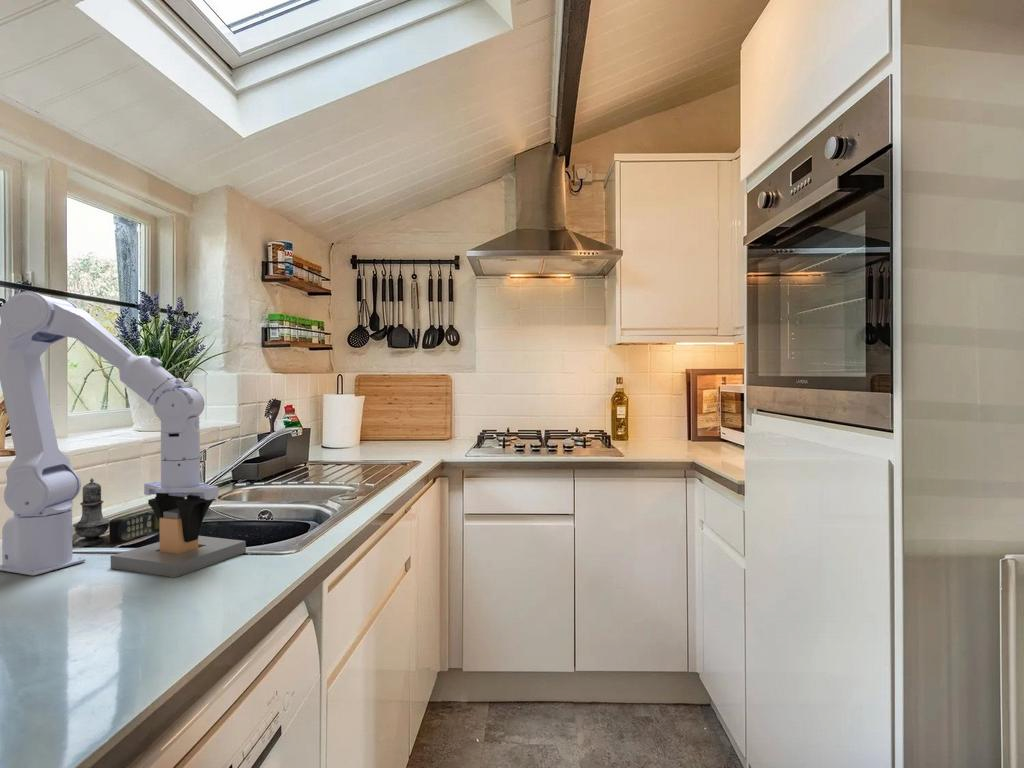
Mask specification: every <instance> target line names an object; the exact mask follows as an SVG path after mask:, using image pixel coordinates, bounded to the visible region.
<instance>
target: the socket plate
mask: <svg viewBox="0 0 1024 768" xmlns="http://www.w3.org/2000/svg"><path fill="white" fill-rule="evenodd" d="M246 543H247V542H246V540H241V539H233V538H232V539H230V538H222V537H212V536H205V535H204V536H203V535H199V536H198V548H197V549H193V550H190V551H187V552H184V553H181V554H174V553H166V552H160V541H157V542H154V543H151V544H147V545H143V546H140V547H136V548H132V549H129V550H126V551H123V552H118V553H115V554H112V555H110V569H113V570H122V571H128V572H134V573H141V572H142V574H147V573H149V575H154V574H155V575H156V576H161V575H162V576H163V577H168V578H178V577H181V576H183V575H186V574H189V573H192V572H195V571H198V570H200V569H203V568H206V567H208V566H211V565H215V564H216V563H219V562H222V561H225V560H228V559H231V558H234V557H236V556H240V555H243V554H245V553H246V552H247V547H246V546H247V545H246ZM162 576H161V577H162Z"/></svg>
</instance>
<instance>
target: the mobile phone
mask: <svg viewBox="0 0 1024 768" xmlns="http://www.w3.org/2000/svg"><path fill="white" fill-rule="evenodd" d="M110 520H111V521H110V523H109V527H108V529H109V532H108V533H109V542H110V543H112V544H119V543H122V542H127V541H130V540H134V539H138V538H142V537H146V536H150V535H153V534H157V533H160V524H159V521H158V518H157V516H156V514H155V513H154V511H153V509H152V508H151V507H150V508H148V509H145V510H144V509H143V510H140V511H137V512H132V513H128V514H124V515H121V516H118V517H115V518H113V519H110Z"/></svg>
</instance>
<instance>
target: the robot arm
mask: <svg viewBox="0 0 1024 768" xmlns="http://www.w3.org/2000/svg"><path fill="white" fill-rule="evenodd" d="M65 338H72V339H76V340H78V341H79V342H80V343H82V344H83V345H85V346H86V347H88V348H89V349H90V350H92V351H93V352H94V353H96V354H97V355H98V356H100V357H101V358H102V359H104V360H105V361H107V362H108V363H109V364H111V365H112V366H113V367H115V368H117V369H118V372H119V373H118V375H119V381H120V382H122V383H123V384H124V385H125V386H126V387H128V388H129V389H131V390H132V391H133V392H134V393H135V394H137V395H138V396H139V397H140V398H142V399H143V400H144V401H145V402H147V404H149V405H151V406H152V408H153V411H154V414H155V415H156V417H157V418H158V419H159V420H160V481H150V482H146V483H144V485H143V486H144V488H143V490H144V492H143V493H144V495H145V496H146V495H147V496H150V495H155V497H154V498H151V499H150V498H149V499H148V502H147V503H148V505H149V507H150V509H151V508H152V509H153V511H154V513H155V514H156V516H157V518H158V521H159V524H160V518H162V517H163V512H164V511H169V510H173V509H177V508H178V509H179V512H180V515H181V520H182V528H183V537H184V541H185V542H190V541H194V540H197V539H198V536H200V531H201V528H202V524H203V522H204V518H205V516H206V513H207V511H208V510H209V508H210V506H211V504H213V502H214V500H213V499H218V498H219V486H218V485H211V484H209V483H208V484H207V483H203V482H201V462H200V461H201V453H200V449H201V446H200V445H201V442H200V441H201V440H200V439H201V438H200V437H201V436H200V433H201V430H200V416H201V414H202V413H203V411H204V409H205V399H204V396H203V394H202V393H200V392H199V390H198V388H195V387H192V386H184V384H185V381H184V379H182V378H181V377H178V378H177V377H176V376H174V375H172V374H171V373H170V372H169V371H168V370H166V369H165V368H164V367H163V366H162V364H163V361H162V360H160V359H159V357H150V356H149V355H135V354H134V353H133V352H132V351H131V350H130V349H129V348H128V347H127V346H126V345H124V344H123V343H121V341H119V339H117V338H116V337H115V336H114V335H113V334H112V333H111V332H110V331H108V329H106V328H105V327H104V326H103V325H102V324H100V322H99V321H97V320H96V319H95V318H94V317H93V316H92V315H91V314H90V313H89V312H87V310H84V309H82V308H79V307H78V306H77V304H75V303H74V302H72V301H71V300H68V299H64V298H57V297H53V296H52V297H51V296H47V295H43V294H40V293H39V292H34V291H32V290H31V291H29V290H27V291H26V290H25V291H20V292H17V293H15V294H14V295H12V296H11V297H10V298H9V299H8V300H7V301H6V302H5V303H3V304H2V305H1V306H0V387H1V392H2V396H3V401H4V402H3V403H4V405H5V406H4V407H5V410H6V417H7V420H8V421H7V422H8V426H9V429H10V435H11V440H12V443H13V448H14V454H15V457H14V459H13V461H11V463H10V464H9V466H8V468H7V469H6V471H5V473H6V474H5V475H6V485H5V488H4V493H3V500H4V503H5V505H6V506H7V508H8V509H9V510H10V511H12V512H13V514H12V515H10V516H9V517H8V518H7V519H6V521H5V522H4V523H3V526H2V530H1V531H2V532H1V545H2V546H1V553H2V554H1V555H2V556H1V557H2V558H1V564H0V571H2V572H3V571H4V572H9V573H16V574H21V575H27V576H38V575H41V574H44V573H49V572H51V571H55V570H58V569H62V568H65V567H69V566H73V565H76V564H80V563H83V562H86V558H85V557H79V556H73V500H74V499H76V498H77V496H78V495H79V493H80V491H81V489H82V488H81V487H82V482H81V478H80V476H79V474H77V472H76V471H75V470H74V469H73V467H72V464H71V459H70V458H69V457H68V456H67V455H66V454H64V452H62V451H61V450H60V449H59V445H58V439H57V436H56V430H55V426H54V421H53V415H52V411H51V407H50V401H49V400H50V399H49V396H48V391H47V387H46V382H45V381H46V380H45V377H44V372H43V369H42V362H41V356H42V355H43V354H44V353H45V352H46V351H47V350H48V349H49V348H51V346H52V345H54V344H56V343H58V342H59V341H61V340H64V339H65Z"/></svg>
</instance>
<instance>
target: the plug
mask: <svg viewBox="0 0 1024 768" xmlns="http://www.w3.org/2000/svg"><path fill="white" fill-rule="evenodd" d="M159 542H160V552H166V553H174V554H181V553H184V552H187V551H190V550H193V549H197V548H198V539H197V540H194V541H190V542H185V541H184V537H183V528H182V520H181V515H180V512H179V509H178V508H177V509H173V510H169V511H164V512H163V517H162V518H160V532H159Z"/></svg>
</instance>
